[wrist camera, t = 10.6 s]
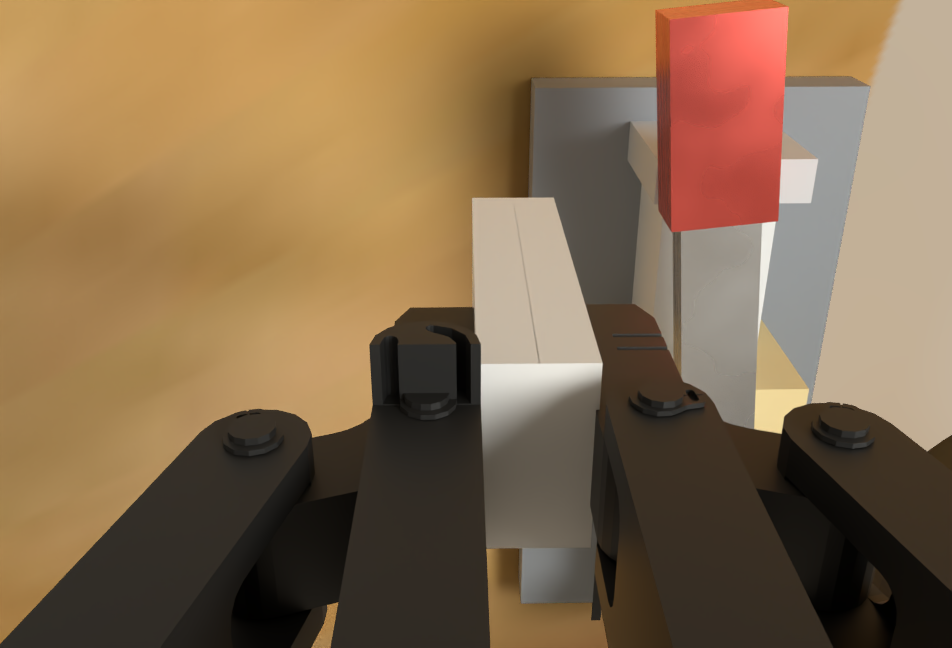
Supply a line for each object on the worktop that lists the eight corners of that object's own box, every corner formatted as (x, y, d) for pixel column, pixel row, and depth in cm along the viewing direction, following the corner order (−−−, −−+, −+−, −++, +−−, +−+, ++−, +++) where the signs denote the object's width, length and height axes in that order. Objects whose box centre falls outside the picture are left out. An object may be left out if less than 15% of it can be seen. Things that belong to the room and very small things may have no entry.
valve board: (762, 573, 37) (815, 693, 32) (518, 577, 37) (529, 698, 32) (850, 76, 29) (944, 124, 23) (531, 77, 28) (549, 126, 23)
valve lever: (662, 497, 28) (673, 531, 26) (655, 9, 22) (670, 19, 20) (748, 489, 28) (764, 522, 26) (766, -3, 21) (788, 6, 20)
